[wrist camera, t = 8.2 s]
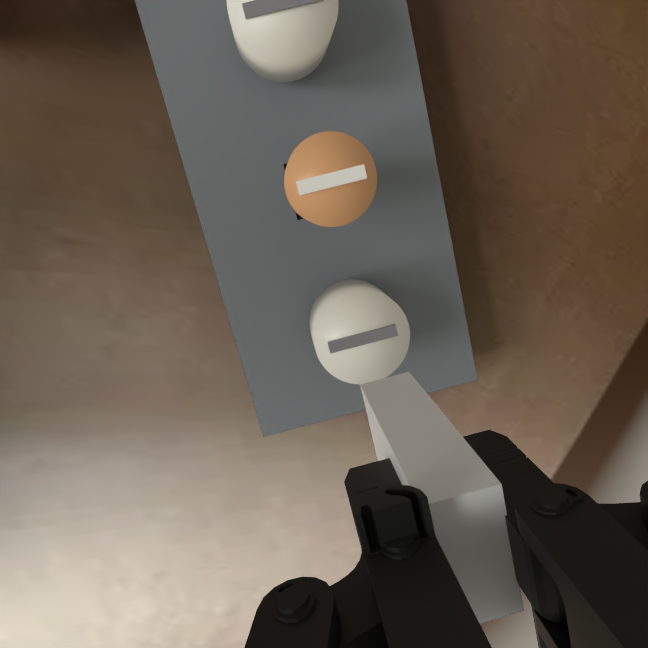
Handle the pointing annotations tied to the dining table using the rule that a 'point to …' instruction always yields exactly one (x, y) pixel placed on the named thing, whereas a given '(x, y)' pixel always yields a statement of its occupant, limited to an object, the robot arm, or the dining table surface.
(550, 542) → the robot arm
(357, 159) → the pot knob
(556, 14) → the dining table surface
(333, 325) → the knob
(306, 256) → the control box
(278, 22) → the knob
